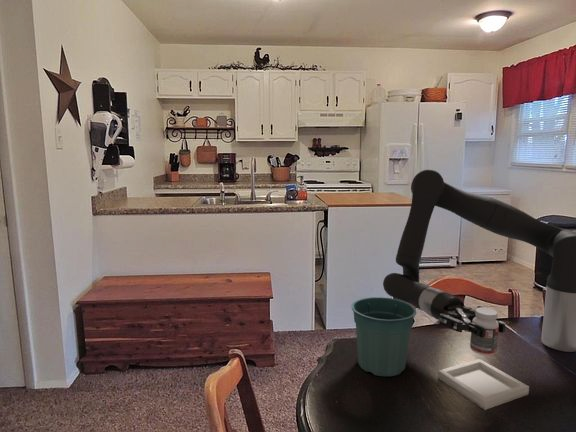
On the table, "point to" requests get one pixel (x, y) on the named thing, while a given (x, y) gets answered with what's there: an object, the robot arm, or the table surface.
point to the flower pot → (383, 334)
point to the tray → (483, 383)
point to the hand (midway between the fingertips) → (494, 331)
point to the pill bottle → (489, 342)
